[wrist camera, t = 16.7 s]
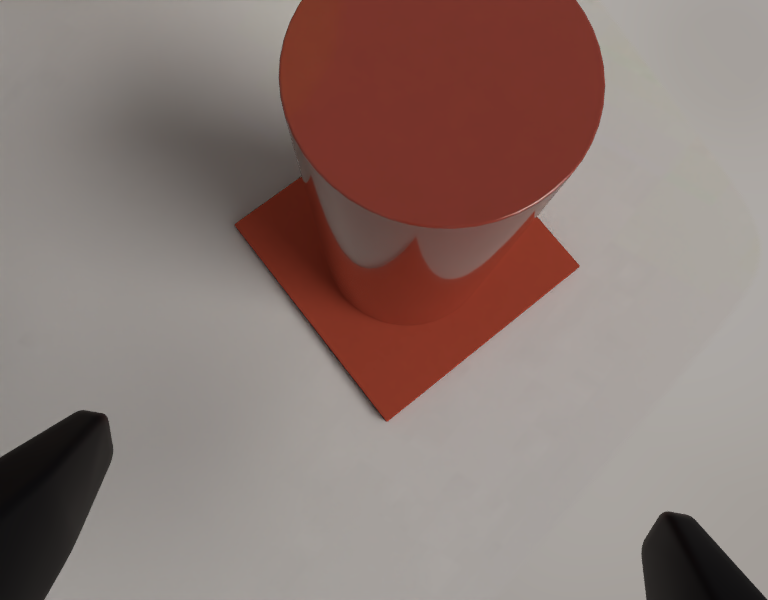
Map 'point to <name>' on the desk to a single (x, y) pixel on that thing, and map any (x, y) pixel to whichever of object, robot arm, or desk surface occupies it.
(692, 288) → the desk surface
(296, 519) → the desk surface
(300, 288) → the red mat
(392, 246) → the red upright cylinder
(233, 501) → the desk surface
